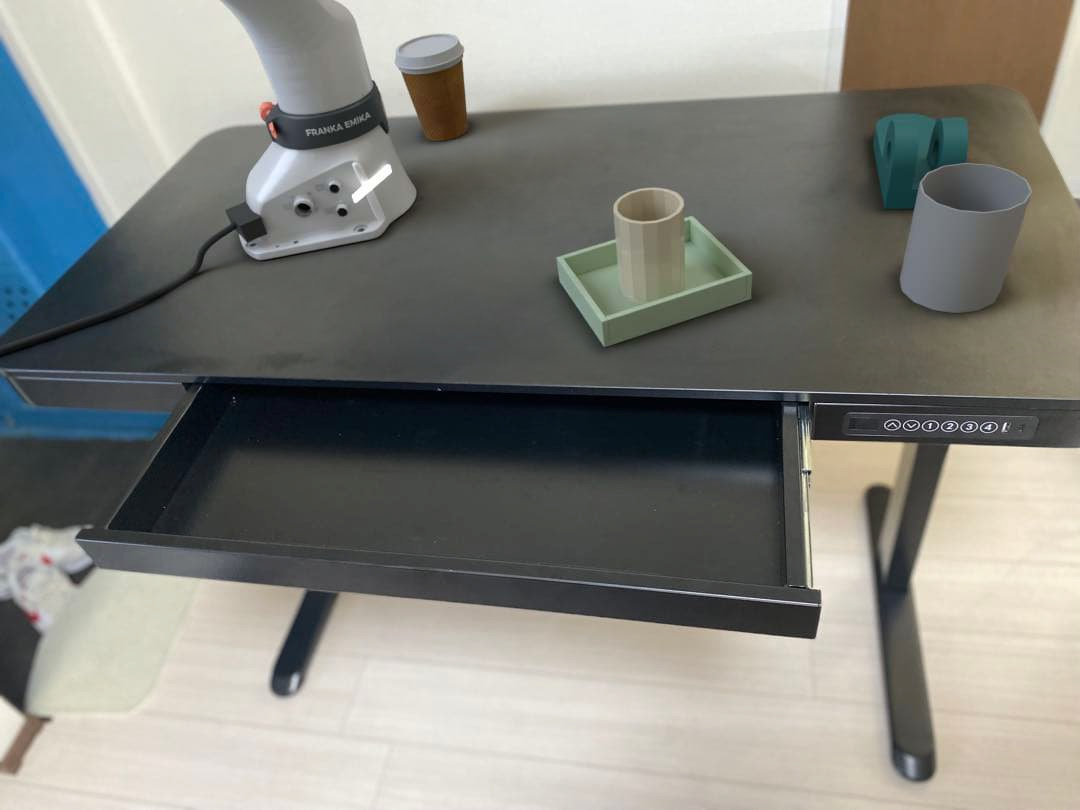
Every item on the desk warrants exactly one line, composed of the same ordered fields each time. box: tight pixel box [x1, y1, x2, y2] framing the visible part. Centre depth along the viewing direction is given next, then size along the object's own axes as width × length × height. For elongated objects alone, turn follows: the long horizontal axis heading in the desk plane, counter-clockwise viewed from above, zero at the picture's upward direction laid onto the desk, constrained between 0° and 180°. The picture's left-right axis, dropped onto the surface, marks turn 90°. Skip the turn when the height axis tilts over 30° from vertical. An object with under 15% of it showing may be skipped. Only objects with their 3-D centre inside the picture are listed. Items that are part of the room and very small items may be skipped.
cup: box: [899, 162, 1033, 314], centre depth 70 cm, size 8×8×10 cm
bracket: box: [872, 112, 969, 210], centre depth 86 cm, size 18×7×8 cm, turn 168°
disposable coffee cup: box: [394, 33, 469, 142], centre depth 109 cm, size 10×10×12 cm
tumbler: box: [612, 187, 685, 305], centre depth 75 cm, size 6×6×9 cm
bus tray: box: [555, 215, 753, 348], centre depth 78 cm, size 15×12×3 cm
